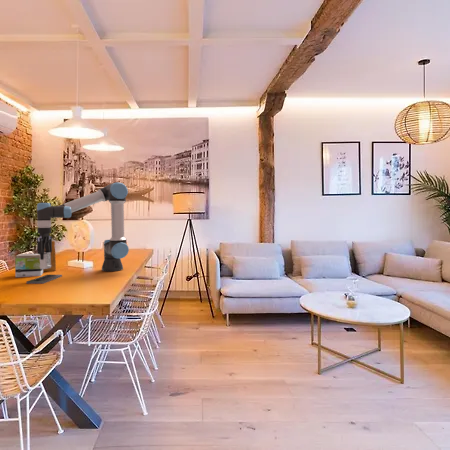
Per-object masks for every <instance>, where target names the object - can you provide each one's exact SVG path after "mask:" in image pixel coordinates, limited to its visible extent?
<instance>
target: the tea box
mask: <svg viewBox="0 0 450 450" xmlns="http://www.w3.org/2000/svg"><path fill="white" fill-rule="evenodd" d="M14 257H15V265H14V266H15V269H14V270H15V271H14V273H15V278H24V277H25V278H26V277H29V278H30V277H42V276H43V274H44V272H43V269H40V267H39V266H40V254H37V253H19V254H17V255H15V256H14Z"/></svg>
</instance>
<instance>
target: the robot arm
mask: <svg viewBox="0 0 450 450" xmlns="http://www.w3.org/2000/svg"><path fill="white" fill-rule="evenodd" d="M128 194H129V190H128V187H127V185H126V184H124V183H123V182H119V181H117V182H113V183H110V184H109V183H108V185H106V186H104V187H102V188H99V189H98V190H97V191H95V192H92V193H90V194H89V193H88V194H87V195H83V196H82V197H79V198H76V199H73V200H71V201H68V202H66V203H63V204H60V205H52V204H51V203H50V202H38V203H37V205H36V216H37V217H36V219H37V234H39V237H37V238H36V242H37V243H36V245H37V253H38V254H40V262H41V265H45V254H44V252H45V250H46V252H50V253H52V241H53V236H52V235H50V234H52V228H51V227H52V218H53V219H55V218H56V219H59V218H61V219H63V218H65V219H66V218H71V217H72V213H74V212H77V211H80V210H81V209H82V210H83V209H85V208H88V207H90V206H92V205H95V204H97V203H101V202H107V201H108V202H109V203H110V212H111V213H110V216H111V219H110V220H111V223H110V224H111V225H110V226H111V237H110V239H105V240H104V241H103V257H104V258H103V263H102V265H101V271H103V272H118V271H122V270H124V265H123V262H122V259H123V258H125V257H126V256H128V253H129V250H130V248H129V246H128V244H127V243H128V242H127V238H126V237H125V210H124V209H125V203H126V202H127V196H128Z"/></svg>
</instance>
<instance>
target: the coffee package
mask: <svg viewBox="0 0 450 450" xmlns="http://www.w3.org/2000/svg"><path fill="white" fill-rule="evenodd" d="M55 245H56V243H55V241H54V240H52V253H50V255H51V265H52V266H51V268H48V269H43V273H44V272H46V271H50V272H55V271H56V270H57V262H56V246H55ZM45 252H46V250H45ZM36 254H38V252H37V253H36Z"/></svg>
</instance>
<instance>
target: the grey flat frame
mask: <svg viewBox="0 0 450 450" xmlns="http://www.w3.org/2000/svg"><path fill="white" fill-rule="evenodd" d="M61 277H63V274H45V275H41V276H38V277H36V278H33V279H30V280H28V281H26V284H31V285H34V284H35V285H36V284H37V285H38V284H39V285H41V284H42V285H44V284H46V283H48V282H51V281H52V282H53V281H55V280H56V279H57V280H58V279H59V278H61Z"/></svg>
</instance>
